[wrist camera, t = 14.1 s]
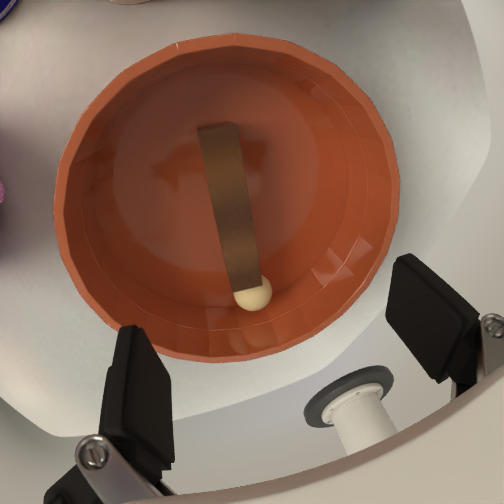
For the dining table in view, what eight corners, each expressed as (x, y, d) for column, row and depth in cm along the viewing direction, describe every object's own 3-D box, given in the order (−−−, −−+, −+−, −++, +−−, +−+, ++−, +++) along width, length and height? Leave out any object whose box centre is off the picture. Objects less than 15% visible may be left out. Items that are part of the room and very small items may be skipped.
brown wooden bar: (196, 127, 17) (197, 131, 14) (229, 121, 17) (237, 123, 15) (226, 268, 23) (232, 293, 20) (253, 262, 23) (262, 285, 20)
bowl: (349, 275, 27) (383, 317, 21) (141, 327, 25) (136, 382, 19) (338, 49, 16) (391, 37, 11) (60, 103, 14) (12, 107, 9)
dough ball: (284, 292, 23) (267, 262, 22) (268, 317, 21) (249, 285, 20) (255, 296, 25) (238, 268, 24) (238, 319, 23) (219, 290, 22)
